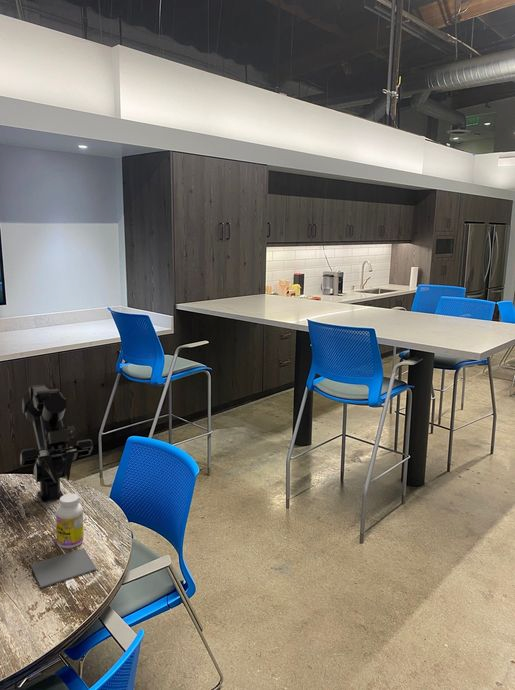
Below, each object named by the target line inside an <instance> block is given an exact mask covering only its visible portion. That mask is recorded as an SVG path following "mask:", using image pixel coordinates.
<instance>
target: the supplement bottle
mask: <svg viewBox="0 0 515 690" xmlns="http://www.w3.org/2000/svg"><path fill="white" fill-rule="evenodd" d="M79 498H80V497H79V495H78V494H76V493H66V494H64V495H63V496H62V497H61V498H59V504H60V505H59V506H58V507H57V508H56V512H55V513H56V514H55V517H56V518H55V519H56V544H57V546H59V547H60V548H63V549H73V548H77V547H78V546H79V545H81V544H82V543H83V541H84V508H83V506H82V504H81V503H79V502H80V499H79Z"/></svg>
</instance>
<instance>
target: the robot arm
mask: <svg viewBox="0 0 515 690" xmlns="http://www.w3.org/2000/svg"><path fill="white" fill-rule="evenodd" d="M28 388H29V389H28V391H27V392H26V394H24V395H23V397H22V403H21V404H22V405H21V406H22V407H21V408H22V414H24V415H25V417H26V418H25V419H26V420H27V421H28V422H30V423H32V426H33V430H34V434H35V438H36V439H35V440H36V444H37V447H38V449H37V447H36V446H35V447H29V448H24V449H22V450H21V451H20V455H19V461H20V462H19V463H20V466H21V467H26V466H33V465H34V467H33V476H34V480H35V482H36V483H39V486H40V487H39V489H40V490H39V491H37V492H36V493H37V496H38V497H39V500H40V501H41V502H42V503H45V502H49V501H52V500H57V499H60V498H61V497H62V496H63V495H65V494H64V493H63V491H62V490H61V478H66V480H67V482H68V481H70V475H71V469H72V464H73V461H75V460H76V459H77V456H78V457H84V456H85V457H86V456H90V455H91V454H92V451H93V448H94V445H93V441H92V440H91V439H89V438H88V439H80V440H77V441H76V444H75V445H70V446H68V445H69V442H70V438H71V439H73V438H75V437H76V429H75V425H69V426H66V428H64V423H63V418H64V415H65V413H66V412H65V411H66V408H67V398H66V397H65V396H64V395H63V393H62V392H61V391H60V389H59V388H55V389H54V388H53V389H49V388H48V387H47V385H46V384H37V385H36V384H35V385H31V386H29V387H28ZM63 455H65V458H64V457H63Z"/></svg>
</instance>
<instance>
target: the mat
mask: <svg viewBox="0 0 515 690" xmlns="http://www.w3.org/2000/svg"><path fill="white" fill-rule="evenodd" d="M30 567H31V570H32V572H33V574H34V576H35V579H36V582H37V583H38V586H39V587H40V589H43V588H46V587H49V586H51V585H55V584H58V583H59V584H60V583H61V582H64V581H68V580H71V579H74V578H76V577H80V576H82V575H85V574H88V573H92V572H95V571H97V570H98V568H97V566H96V564H94V562H93V560H92V558H90V556H89V554H88V553H87V551H86V548H85V547H83V548H80V549H75V550H73V551H69V552H65V553H63V554H60V555H55V556H53V557H48V558H46V559H42V560H39V561H36V562H32V563H30Z"/></svg>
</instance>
